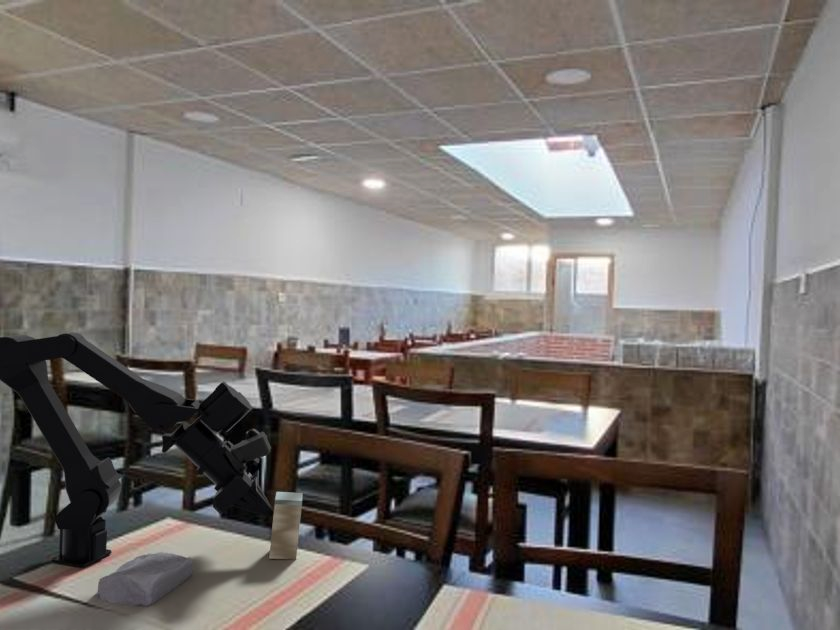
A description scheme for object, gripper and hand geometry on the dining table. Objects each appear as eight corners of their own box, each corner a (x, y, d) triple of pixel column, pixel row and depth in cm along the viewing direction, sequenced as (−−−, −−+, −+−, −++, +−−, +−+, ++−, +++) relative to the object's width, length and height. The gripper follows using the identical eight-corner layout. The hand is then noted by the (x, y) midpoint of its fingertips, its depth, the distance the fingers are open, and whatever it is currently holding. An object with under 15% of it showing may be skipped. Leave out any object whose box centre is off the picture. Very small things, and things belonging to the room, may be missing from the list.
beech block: (269, 558, 109) (275, 499, 108) (270, 548, 113) (276, 491, 113) (296, 559, 109) (302, 500, 109) (296, 549, 114) (302, 493, 114)
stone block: (90, 613, 92) (153, 608, 90) (86, 579, 92) (148, 574, 90) (142, 582, 104) (198, 577, 102) (139, 552, 104) (195, 546, 102)
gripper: (236, 428, 100) (306, 497, 102) (248, 408, 119) (307, 467, 121) (182, 479, 99) (254, 548, 101) (202, 451, 118) (263, 510, 120)
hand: (272, 514), depth 111 cm, fingers closed
